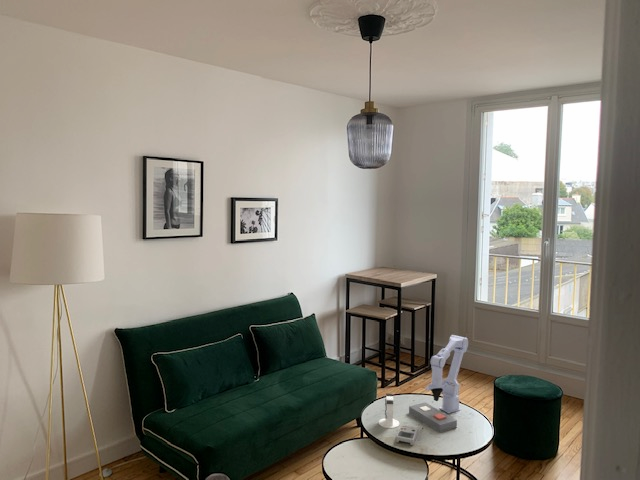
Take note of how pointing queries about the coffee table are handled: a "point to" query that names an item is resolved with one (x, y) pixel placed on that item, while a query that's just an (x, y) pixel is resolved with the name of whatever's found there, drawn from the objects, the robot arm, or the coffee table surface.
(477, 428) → the coffee table surface
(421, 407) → the plug
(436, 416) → the red plug
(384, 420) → the white post stand
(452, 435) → the coffee table surface
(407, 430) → the handheld gaming device
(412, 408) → the console
